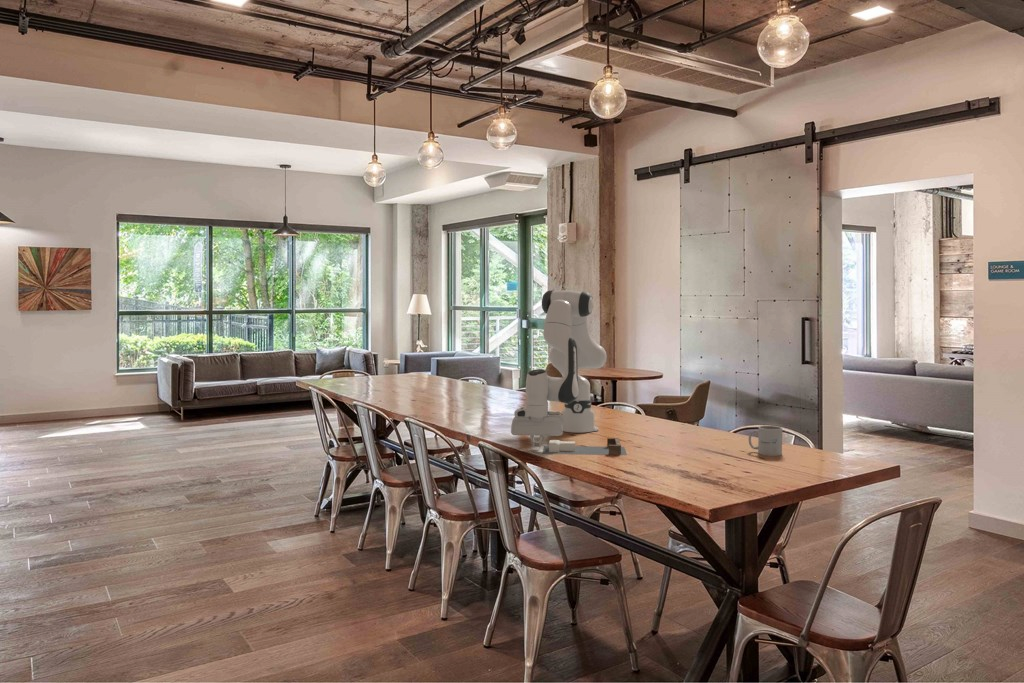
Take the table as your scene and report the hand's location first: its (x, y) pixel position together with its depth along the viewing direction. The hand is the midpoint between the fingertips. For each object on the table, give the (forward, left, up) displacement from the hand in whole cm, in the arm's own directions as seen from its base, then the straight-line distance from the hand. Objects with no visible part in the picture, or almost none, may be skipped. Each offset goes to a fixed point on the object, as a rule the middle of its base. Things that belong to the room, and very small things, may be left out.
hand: (536, 446), depth 293 cm
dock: (0, +30, -1) cm, 30 cm away
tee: (0, +10, -1) cm, 10 cm away
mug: (-3, +88, -2) cm, 88 cm away
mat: (0, +18, -2) cm, 18 cm away
